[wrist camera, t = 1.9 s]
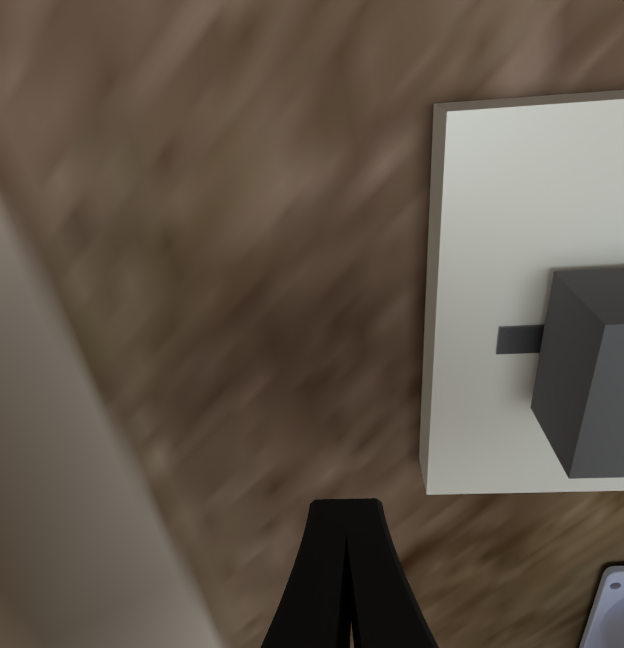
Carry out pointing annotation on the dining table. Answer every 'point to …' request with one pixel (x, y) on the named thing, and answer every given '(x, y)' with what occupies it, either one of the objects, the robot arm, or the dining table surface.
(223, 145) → the dining table surface
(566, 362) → the fader knob
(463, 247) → the dimmer panel
